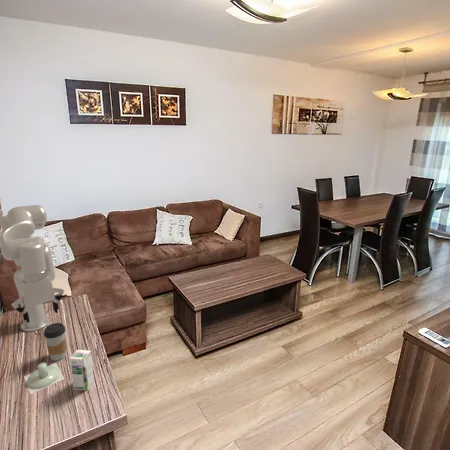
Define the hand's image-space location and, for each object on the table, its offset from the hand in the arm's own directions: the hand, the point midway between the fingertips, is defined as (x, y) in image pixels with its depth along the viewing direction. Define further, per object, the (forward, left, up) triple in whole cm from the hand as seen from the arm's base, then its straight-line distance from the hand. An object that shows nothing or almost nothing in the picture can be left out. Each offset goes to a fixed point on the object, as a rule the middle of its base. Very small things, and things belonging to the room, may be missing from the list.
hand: (42, 316), depth 117 cm
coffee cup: (-11, +6, -29) cm, 31 cm away
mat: (-1, -2, -28) cm, 29 cm away
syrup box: (+13, +9, -29) cm, 33 cm away
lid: (-1, -2, -28) cm, 28 cm away
